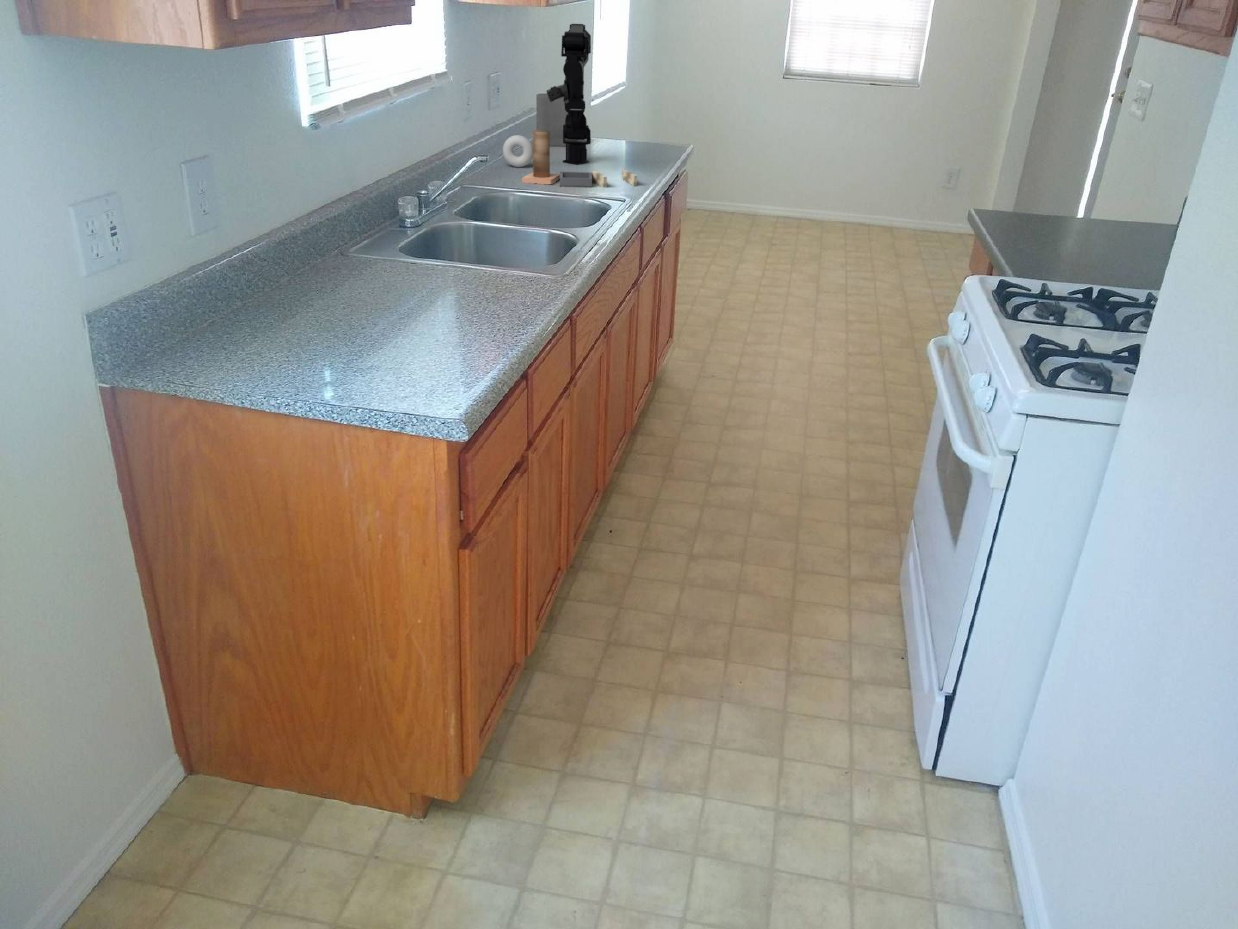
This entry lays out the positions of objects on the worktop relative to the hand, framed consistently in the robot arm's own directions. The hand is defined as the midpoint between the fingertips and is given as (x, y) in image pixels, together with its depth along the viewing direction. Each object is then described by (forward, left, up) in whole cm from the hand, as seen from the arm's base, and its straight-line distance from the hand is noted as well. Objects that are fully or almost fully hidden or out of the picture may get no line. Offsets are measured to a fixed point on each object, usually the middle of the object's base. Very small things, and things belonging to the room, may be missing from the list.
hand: (573, 129), depth 298 cm
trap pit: (+11, -13, -13) cm, 21 cm away
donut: (-18, -6, -13) cm, 23 cm away
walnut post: (+1, -17, -12) cm, 21 cm away
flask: (-35, +35, -13) cm, 51 cm away
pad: (+1, -17, -13) cm, 22 cm away
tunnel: (+19, -4, -13) cm, 24 cm away
